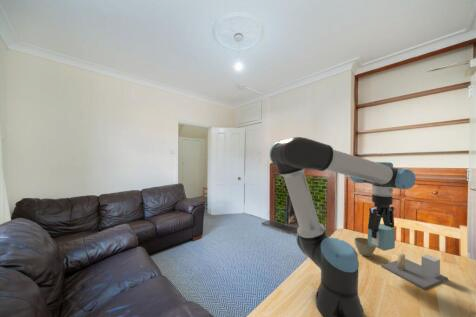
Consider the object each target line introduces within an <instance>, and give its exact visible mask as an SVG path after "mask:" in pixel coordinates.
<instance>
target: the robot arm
mask: <svg viewBox="0 0 476 317" xmlns="http://www.w3.org/2000/svg"><path fill="white" fill-rule="evenodd" d="M269 158H270V160H271V162H272V164H273V165H274V166H276V170H277V173H278V175H279V176H281V177H283V179H284V182H285V185H286V189H287V191H288V196H289V198H290V201H291V204H292V208H293V212H294V215H295V218H296V220H297V224H298V227H297V230H296V233H297V234H296V244H297V246H298V248H299V249H300V251H301V252H302V253H303V254H304V255H305V256H307V257H308V258H309V259H310V260H311V261H312V263H313V264H315V265H316V266H317V267H318V268H319V269H320V283H319V286H318V289H317V291H316V293H315V306H316V307H317V310H318V309H319V310H318V311H319V312H320V314H321V315H322V316H323V317H365V312H364V308H363V306H362V303H361V300H360V297H359V266H360V265H359V264H360V262H359V256H358V253H357V250H356V249H355V248H354V247H353V246H352V245H351V244H350V243H348V241H345V240H342V239H339V238H336V237H329V236H328V234H327V230H326V227H325V225H324V224H322V223H320V220H319V217H318V214H317V210H316V207H315V204H314V200H313V197H312V193H311V191H310V187H309V184H308V181H307V177H306V173H305V171H306V170H316V171H318V172H325V171H330V172H333V173H338V174H341V175H345V176H348V177H349V179H350V180H351V181H352V182H353V183H355V184H356V183H357V184H369V185H370V184H371V185H372V186H371V187H372V188H371V193H372V195H371V202H372V203H374V205H373V207H369V208H368V212H369V215H368V224H367V230H368V229H370V230H372V244H374V245H376V246H379V232H378V228H379V225H380V224H381V221H383V222H382V223H383V225H385V226H388V227H391V228H394V227H395V217H394V216H395V215H394V210H395V207H394V206H392V205H393V200H394V198H393V195H394V194H393V193H394V189H398V190H400V189H401V190H409V189H412V188H413V187H414V185H415V183H416V174H415V173H414V172H413V171H412V170H411V169H409V168H408V169H407V168H402V167H401V168H400V167H399V168H397V167H394V163H392V162H390V161H383V162H382V161H372V160H369V159H367V158H366V159H365V158H362V157H360V156H356V155H353V154H349V153H346V152H344V151H343V152H342V151H339V150H336V149H334V148H333V147H332V146H331V145H330V144H327V143H323V142H320V141H318V140H317V141H316V140H313V139H311V138H308V137H300V136H297V137H296V136H295V137H292V138H291V137H290V138H285V139H279V140H278V141H276V142H275V143H273V145H272V146H271V148H270V150H269Z"/></svg>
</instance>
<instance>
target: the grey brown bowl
mask: <svg viewBox="0 0 476 317" xmlns="http://www.w3.org/2000/svg"><path fill="white" fill-rule="evenodd" d="M354 244H355V247H356V248H357V251H358V253H359V254H360V255H362V256H365V257H370V256H372V254H373V253H374V252H375V251H376V248H377V247H375V246H372V245H370V244H368V238H367V237H366V238H365V237H355V238H354Z"/></svg>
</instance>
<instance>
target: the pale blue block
mask: <svg viewBox="0 0 476 317" xmlns="http://www.w3.org/2000/svg"><path fill="white" fill-rule="evenodd" d="M378 232H379V246H376V245H374V244H372V230H370V229H368V228H367V239H368V244H370V245H372V246H375V247H376V248H377V249H378V250H379V249H380V250H381V251H383V252H386V251H389V250H394V249H395V248H396V246H395V245H396V228H394V227H392V228H391V227H388V226H385V225H384V224H382V223H380V225H379V228H378Z"/></svg>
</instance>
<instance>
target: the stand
mask: <svg viewBox="0 0 476 317" xmlns="http://www.w3.org/2000/svg"><path fill="white" fill-rule="evenodd" d="M381 268H383V269H384V270H387V271H388V272H390V273H392V274H394V275H396V276H397V277H399V278H401V279H403V280H405V281H407V282H408V283H411V284H413V285H414V286H416V287H417V288H420V289H422V290H426V289H428V288H431V287H433V286H436V285H438V284H441V283H443V282H445V281H448V280H449V279H448V278H449V277H447V276H445V275H443V274H441V259H440V258H437V257H435V256H432V255H429V254H424V255H421V264H418V263H417V262H414V261H412V260H409V259H407V258H406V255H405V254H404V253H403V252H397V259H396V260H395V261H391V262H388V263H385V264H381Z"/></svg>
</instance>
